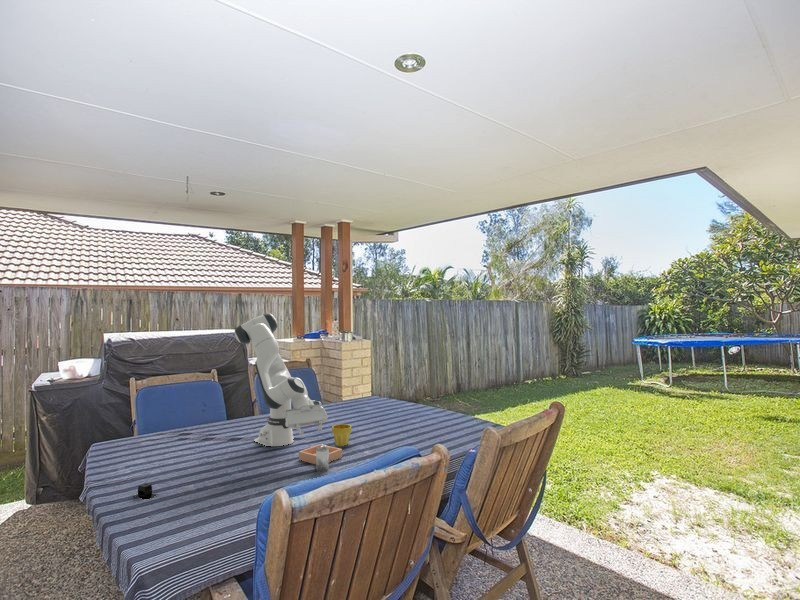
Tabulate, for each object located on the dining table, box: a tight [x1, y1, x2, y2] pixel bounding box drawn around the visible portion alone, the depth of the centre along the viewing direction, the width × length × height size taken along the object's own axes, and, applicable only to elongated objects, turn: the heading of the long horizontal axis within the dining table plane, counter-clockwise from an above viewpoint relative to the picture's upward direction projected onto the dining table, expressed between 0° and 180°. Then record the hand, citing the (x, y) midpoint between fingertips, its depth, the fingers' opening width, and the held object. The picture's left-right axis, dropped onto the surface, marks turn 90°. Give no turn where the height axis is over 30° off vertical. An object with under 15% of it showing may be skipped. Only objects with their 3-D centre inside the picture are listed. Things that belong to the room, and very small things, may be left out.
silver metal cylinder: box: [315, 444, 330, 472], centre depth 199 cm, size 6×6×11 cm
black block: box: [133, 482, 159, 500], centre depth 170 cm, size 12×7×5 cm, turn 67°
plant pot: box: [331, 423, 352, 447], centre depth 237 cm, size 10×10×10 cm
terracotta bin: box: [298, 443, 343, 465], centre depth 214 cm, size 15×15×4 cm
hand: (311, 431), depth 208 cm, fingers open, 8 cm apart
